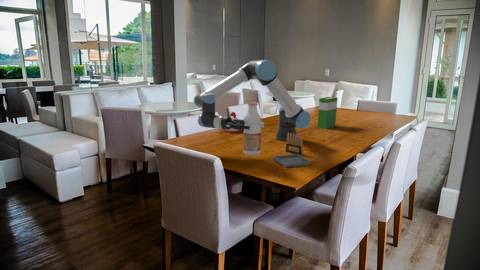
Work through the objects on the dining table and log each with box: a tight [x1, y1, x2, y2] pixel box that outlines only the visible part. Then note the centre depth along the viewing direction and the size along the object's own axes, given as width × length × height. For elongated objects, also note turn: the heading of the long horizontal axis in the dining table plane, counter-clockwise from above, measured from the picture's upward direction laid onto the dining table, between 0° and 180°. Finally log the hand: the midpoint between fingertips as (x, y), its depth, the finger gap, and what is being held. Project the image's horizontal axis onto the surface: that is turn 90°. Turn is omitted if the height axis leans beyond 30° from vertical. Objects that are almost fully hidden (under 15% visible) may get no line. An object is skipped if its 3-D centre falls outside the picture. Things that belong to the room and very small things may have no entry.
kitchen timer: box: [223, 111, 243, 134], centre depth 252 cm, size 14×14×15 cm
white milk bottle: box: [243, 101, 262, 156], centre depth 177 cm, size 9×9×28 cm
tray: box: [273, 153, 311, 169], centre depth 178 cm, size 15×15×2 cm
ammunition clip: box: [285, 132, 304, 156], centre depth 195 cm, size 11×2×12 cm, turn 50°
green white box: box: [317, 96, 338, 130], centre depth 270 cm, size 18×7×24 cm, turn 139°
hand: (259, 126), depth 175 cm, fingers closed on white milk bottle, 9 cm apart
